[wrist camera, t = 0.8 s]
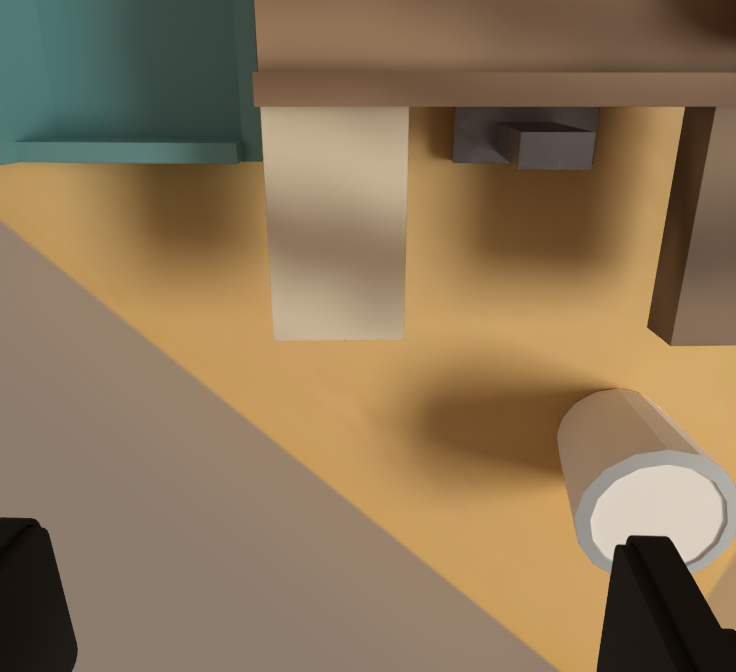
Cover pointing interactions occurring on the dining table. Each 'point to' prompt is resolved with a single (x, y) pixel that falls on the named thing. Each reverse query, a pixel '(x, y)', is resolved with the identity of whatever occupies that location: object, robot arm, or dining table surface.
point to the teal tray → (128, 81)
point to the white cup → (642, 480)
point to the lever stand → (526, 136)
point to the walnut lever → (478, 89)
